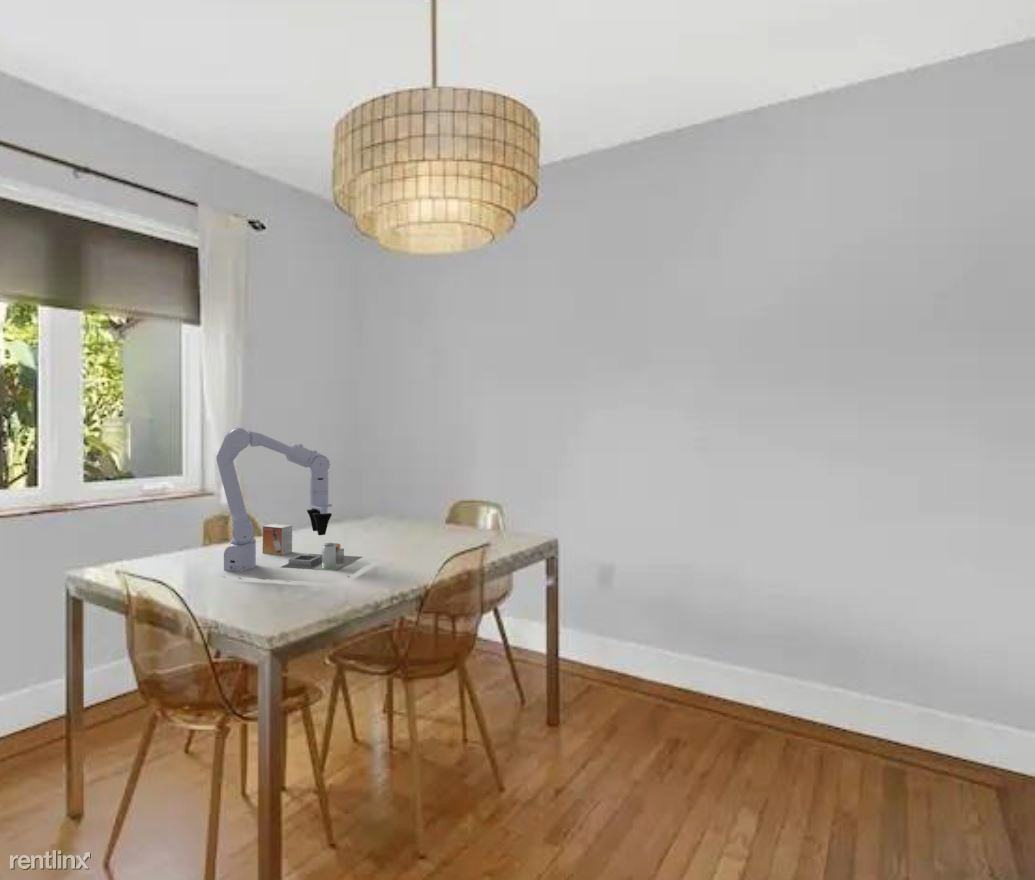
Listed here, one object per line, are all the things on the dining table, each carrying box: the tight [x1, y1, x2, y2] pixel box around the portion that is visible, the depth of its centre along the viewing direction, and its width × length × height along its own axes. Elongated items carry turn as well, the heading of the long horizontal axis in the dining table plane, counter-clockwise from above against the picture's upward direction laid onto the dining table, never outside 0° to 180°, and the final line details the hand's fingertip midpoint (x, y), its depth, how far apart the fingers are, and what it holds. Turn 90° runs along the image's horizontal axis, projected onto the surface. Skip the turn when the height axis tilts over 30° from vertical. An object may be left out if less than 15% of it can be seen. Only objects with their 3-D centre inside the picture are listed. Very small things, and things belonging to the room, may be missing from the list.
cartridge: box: [321, 542, 336, 568], centre depth 201 cm, size 4×4×7 cm
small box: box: [262, 523, 293, 556], centre depth 220 cm, size 8×6×10 cm
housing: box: [280, 547, 363, 572], centre depth 207 cm, size 19×19×4 cm
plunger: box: [333, 542, 341, 551], centre depth 211 cm, size 4×4×4 cm
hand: (319, 532), depth 209 cm, fingers open, 7 cm apart
